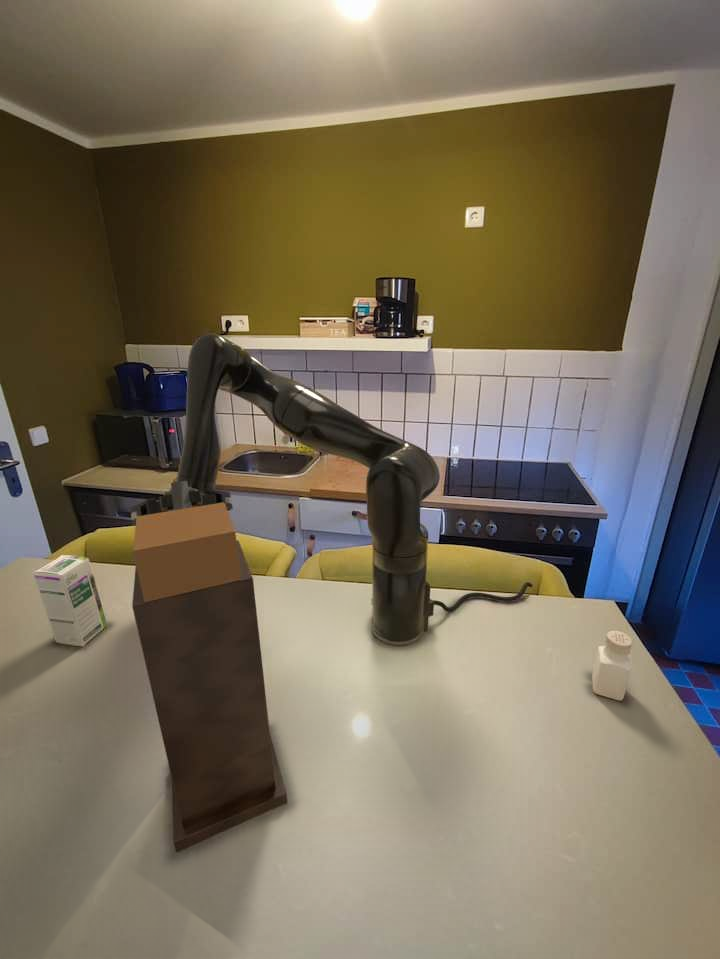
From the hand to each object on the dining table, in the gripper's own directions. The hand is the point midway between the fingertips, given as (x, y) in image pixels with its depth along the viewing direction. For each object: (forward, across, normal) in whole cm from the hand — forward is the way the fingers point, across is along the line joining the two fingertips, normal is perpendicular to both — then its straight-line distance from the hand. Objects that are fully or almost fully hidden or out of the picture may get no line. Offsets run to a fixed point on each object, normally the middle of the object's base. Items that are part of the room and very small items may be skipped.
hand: (181, 498), depth 51 cm
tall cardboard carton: (+3, 0, +4) cm, 5 cm away
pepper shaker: (+2, +54, +39) cm, 67 cm away
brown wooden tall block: (-5, 0, +34) cm, 35 cm away
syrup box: (-38, -20, +16) cm, 46 cm away
